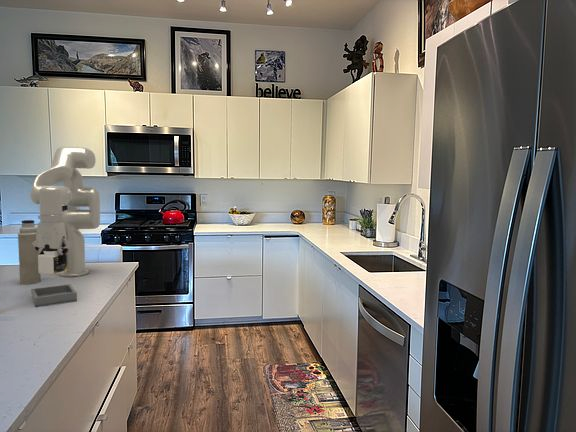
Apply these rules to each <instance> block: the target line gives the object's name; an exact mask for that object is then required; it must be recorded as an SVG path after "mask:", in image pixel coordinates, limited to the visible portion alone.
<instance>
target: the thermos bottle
mask: <svg viewBox="0 0 576 432" xmlns="http://www.w3.org/2000/svg"><path fill="white" fill-rule="evenodd" d="M36 233H37V226H35V220H33V219H31V220H30V219H27V220H25V219H24V220H21V227H20V228H19V232H18V233H17V243H18V263H19V268H18V269H19V283H20V284H21V285H33V284H37V283H40V282H41V280H42V279H41V278H42V277H41V275H42V274H41V273H39V270H38V255H39V254H38V251H37V250H36V249H35V247H34V246H33V244H32V243H33V242H34V241H35V240H36Z"/></svg>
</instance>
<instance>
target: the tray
mask: <svg viewBox="0 0 576 432" xmlns="http://www.w3.org/2000/svg"><path fill="white" fill-rule="evenodd" d="M30 295H31V300H32V302H33V305H34V307H35V308H39V307H45V306H53V305H59V304H67V303H73V302H78V296H77V295H78V292H77V291H76V289H74V287H73V286H72V285H71V284H70V283H68V284H60V285H51V286H43V287H35V288H31V289H30Z"/></svg>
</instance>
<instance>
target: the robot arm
mask: <svg viewBox="0 0 576 432" xmlns="http://www.w3.org/2000/svg"><path fill="white" fill-rule="evenodd" d="M52 158H53V159H52V162H51V166H50V168H47V169H46V170H44V171H43V172H41V173H39V174H38V175H37V176H36V177H35V179H34V181H33V182H32V185H31V189H30V198H31V199H30V200H31V202H32V203H34V204H36V205H39V215H38V216H37V219H40V220H39V222H37V226H36V227H37V233H36V240H35V241H34V242H33V243H32V244H33V246H34V247H35V249H36V250H37V251H38V254H39V255H41V254H45V253H44V252H43V248H45V245H46V244H48V245H49V246H50V248H51V249H57V250H58V252H59V254H60V255H58V262H59V265H63V264H65V263H66V254H67V271H64V272H61V273H59V275H60V277H73V278H74V277H80V276H85V275H87V274H89V273H90V271H89V269H88V268H86V250H85V248H86V247H85V244H86V243H85V236H84V234H83V233H82V232H81V231H80V230H94V229H98V227H100V223H101V204H100V202H101V199H100V192H99V190H98V189H97V187H92V186H91V187H90V186H89V187H87V186H86V187H85V186H84V184H83V181H84V180H83V175H82V174H81V172H80V171H79V170H78V169H87V170H88V169H93V168H94V167H95V165H96V162H97V161H96V160H97V159H96V156H95V153H94V152H93V150H91V149H89V148H86V147H80V146H61V147H58V148H57V149H56V150H55V151H54V155H53V157H52ZM60 183H62V185H56V184H60ZM63 205H66V207H70V208H71V207H73V208H75V207H78V208H79V207H83V208H84V207H85V208H87V207H88V208H89V209H80V208H79V209H72V208H71V209H66V210H63Z"/></svg>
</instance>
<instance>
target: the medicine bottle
mask: <svg viewBox="0 0 576 432" xmlns="http://www.w3.org/2000/svg"><path fill="white" fill-rule="evenodd" d="M43 252H44V253H45V254H41V255H38V270H39V273H40V274H41V275H42V274H45V275H56V274H57V275H58V274H60V273H61V272H64V271H67V254H66V263H65V264H63V265H59V262H58V255H60V254H59V252H58V250H57V249H51V248H50V246H49V245H48V244H46V245H45V248H43Z"/></svg>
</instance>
